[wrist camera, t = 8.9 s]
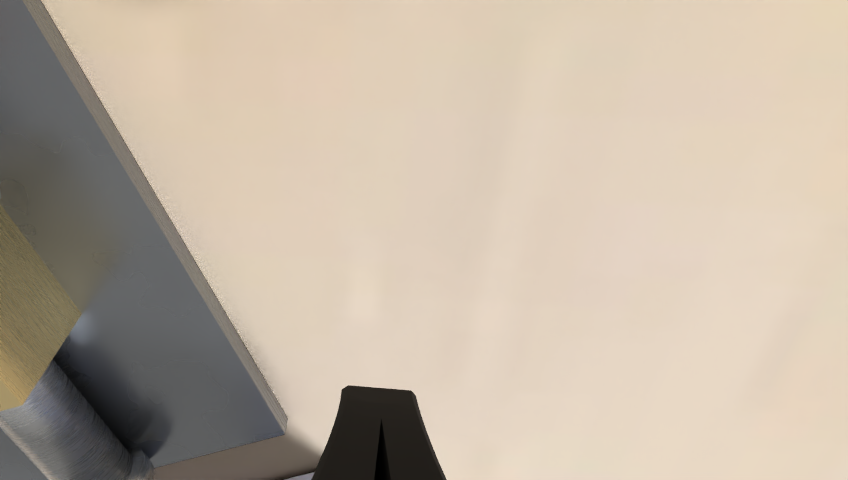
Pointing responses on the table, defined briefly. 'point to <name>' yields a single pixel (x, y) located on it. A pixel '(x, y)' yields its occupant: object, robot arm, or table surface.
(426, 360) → the table surface
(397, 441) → the robot arm
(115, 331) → the grey machine base
